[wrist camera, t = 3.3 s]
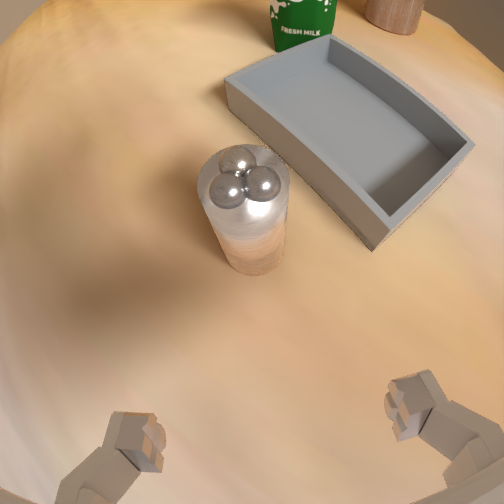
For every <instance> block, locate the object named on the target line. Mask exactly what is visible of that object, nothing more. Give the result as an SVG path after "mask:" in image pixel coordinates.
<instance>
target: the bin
mask: <svg viewBox="0 0 504 504" xmlns="http://www.w3.org/2000/svg"><path fill="white" fill-rule="evenodd" d="M224 83H225V89H226V94H227V100H228V105H229V110H230V111H231V112H232V113H233V114H234V115H235V116H236V117H238V118H239V119H240V120H241V121H242V122H243V123H244V124H246V125H247V126H248V127H249V128H250V129H251V130H252V131H253V132H254V133H255V134H257V135H258V136H259V137H260V138H261V139H262V140H263V141H264V142H265V143H266V144H267V145H269V146H270V147H271V148H272V149H273V150H274V151H275V152H276V153H277V154H278V155H279V156H280V157H281V158H282V159H283V160H284V161H285V162H286V163H288V164H289V165H290V166H291V167H292V168H293V169H294V170H295V171H296V172H297V173H298V174H299V175H300V176H301V177H302V178H303V179H304V180H305V181H306V182H307V183H308V184H309V185H310V186H311V187H312V188H313V189H314V190H315V191H316V192H317V193H318V194H319V195H320V196H321V197H322V198H323V199H324V200H325V202H326V203H327V204H328V205H329V206H330V207H331V208H332V209H333V210H334V211H335V212H336V213H337V214H338V215H339V216H340V217H341V218H342V219H343V220H344V222H345V223H346V224H347V225H348V226H349V227H350V228H351V229H352V230H353V231H354V232H355V234H356V235H357V236H358V237H359V238H360V239H361V240H362V241H363V242H364V244H365V245H366V246H367V247H368V248H369V249H370V250H371V251H374V250H375V249H376V248H377V247H378V246H379V245H380V244H381V243H382V242H383V241H384V240H386V239H387V238H388V237H389V236H390V235H391V234H392V233H393V232H394V231H395V230H396V229H397V228H398V227H399V226H400V225H401V224H403V223H404V222H405V221H406V220H407V219H408V218H409V217H410V216H411V215H412V214H413V213H414V212H415V211H416V210H417V209H418V208H419V207H420V206H421V205H422V204H423V203H424V202H425V201H426V200H427V199H428V198H429V197H430V196H431V195H432V194H433V193H434V192H435V191H436V190H437V189H438V188H439V187H440V186H441V185H442V184H443V183H444V182H445V181H446V180H447V179H448V177H449V176H450V175H451V174H452V173H453V172H454V171H455V170H456V169H457V168H458V166H459V165H460V164H461V163H462V161H463V160H464V159H465V158H466V156H467V155H468V154H469V153H470V151H471V150H472V149H473V147H474V146H475V144H474V143H473V142H472V141H471V140H470V139H469V138H468V137H467V136H466V135H465V134H464V133H463V132H462V131H461V130H460V129H459V128H458V127H457V126H456V125H455V124H454V123H453V122H452V121H451V120H450V119H448V118H447V117H446V116H445V115H444V114H443V113H442V112H441V111H439V110H438V109H437V108H436V107H435V106H434V105H432V104H431V103H430V102H429V101H428V100H426V99H425V98H424V97H423V96H422V95H420V94H419V93H418V92H417V91H415V90H414V89H413V88H411V87H410V86H409V85H408V84H406V83H405V82H404V81H402V80H401V79H400V78H398V77H397V76H396V75H394V74H393V73H391V72H390V71H389V70H387V69H386V68H384V67H383V66H381V65H380V64H378V63H377V62H375V61H374V60H372V59H371V58H369V57H368V56H366V55H365V54H363V53H362V52H360V51H358V50H357V49H355V48H354V47H352V46H350V45H349V44H347V43H345V42H343V41H342V40H340V39H338V38H337V37H335V36H333V35H331V34H328V35H325V36H322V37H319V38H316V39H313V40H311V41H308V42H305V43H303V44H300V45H297V46H295V47H292V48H290V49H287V50H285V51H282V52H280V53H277V54H275V55H273V56H270V57H268V58H266V59H264V60H261V61H259V62H257V63H255V64H252V65H250V66H248V67H246V68H244V69H242V70H240V71H238V72H236V73H234V74H232V75H230V76H228V77H226V78H224Z"/></svg>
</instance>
